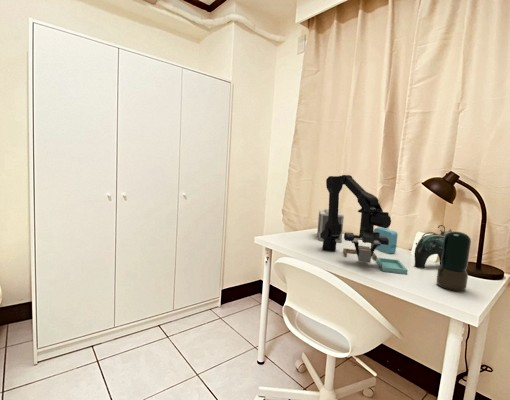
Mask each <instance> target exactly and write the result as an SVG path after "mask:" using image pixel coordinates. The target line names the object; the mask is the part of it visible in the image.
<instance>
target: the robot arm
mask: <svg viewBox="0 0 510 400" xmlns="http://www.w3.org/2000/svg"><path fill="white" fill-rule="evenodd" d="M325 182H326V183H325V185H326V190H327V191H328V196H329V197H328V210H329V214H328V221H327V223H326V224H325V229H324V231H323V232H322V233H321V234H320V237H321V238H322V239H323V242H322V247H321V248H322V251H325V252H326V251H328V252H335V251H336V250H337V243H336V241H335V240H336V239H338V238H339V236H340V234H341V232H342V233H343V230H342V224H340V223H339V221H338V212H339V205H340V204H339V203H340V202H339V200H340V193H341V191H342V189H343V186H344V185H345V186H346V188H348V189H349V191H350V192H351V193H352V194H353V195H354V196H355V198H357V203H358V205H359V206H360V208H359V209H358V210H357V213H359V214H360V213H361V215H360V223H359V232H358V233H359V234H358V235H357V234H354V233H353V232H348V231H347V232H345V233H344V234H343V239H344V241H346V242H351V243H352V244H353V246H354V249H355V250H356V253H357V254H356V257H357V256H358V254H359V249H358V245H359V240H360V241H361V242H362V243H364V244H366V243H367V244H368V243H369V244H370V250H371V257H372V254H373V252H374V253H375V250H376V247H377V246H380V243H381V244H383V245H388V244H389V240H388V238H387V237H386V236H380V234H379V233H378V232H374V229H375V228H374V226H375V227H377V228H385V229H388V228H389V227H390V226H391V223H392V219H391V216H390V214H389V212H386V211H384V210H383V209H382V206H381V204H380V202H379V198H378V197H377V196H375V195H374V194H372V193H371V192H367V191H366V190H365V189H364V188H363V187H362V186H361V185H360V184H359V183H358V182H357V181H356V180H355V179H354V177H353V176H352V175H350V174H342V175H338V176H336V175H329V176H328V177H326V180H325ZM359 246H360V245H359Z"/></svg>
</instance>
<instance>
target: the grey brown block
mask: <svg viewBox="0 0 510 400" xmlns="http://www.w3.org/2000/svg"><path fill="white" fill-rule="evenodd" d="M370 248H371V246H366V245H365V246H364V245H358V249H359V254H358V256H357V255H356V257H357V261H358V262H362V263H370V264H371V260H372V256H371V250H370Z"/></svg>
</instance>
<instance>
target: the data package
mask: <svg viewBox="0 0 510 400" xmlns="http://www.w3.org/2000/svg"><path fill="white" fill-rule="evenodd" d="M374 232H378V233H379V234H380V236H386V237H387V238H388V240H389V244H388V245H383V244H381V243H380V246H377V247H376V249H375V250H377V251H379V252H383V253H385V254H395V253H396V251H397V243H398V235H399V234H398V232H397V231H396V230H392V229H388V228H382V227H376V228H374Z"/></svg>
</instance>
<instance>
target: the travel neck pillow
mask: <svg viewBox="0 0 510 400" xmlns="http://www.w3.org/2000/svg"><path fill="white" fill-rule="evenodd" d="M440 227H442V228H443V230H441V229H440V230H439V232H440V233H439V234H438V233H436V232H432V231H429V232H425V233H424V234H422V236H421V238H420V239H419V240H418V241H417V244H416V246H415V249H414V267H415V268H418V269H424V268H426V263H427V260H428V259H429V258H430V257H431V256H433V255H437V256H438V258H439V267H440V266H441V256H442V248H443V241H444V236H445V235H446V234H447V233H448V232H453V231H452V229H451V228H449V230H448V231H447V230H446V227H445V225H442V224H440V225H438V226H437V229H439V228H440Z"/></svg>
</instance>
